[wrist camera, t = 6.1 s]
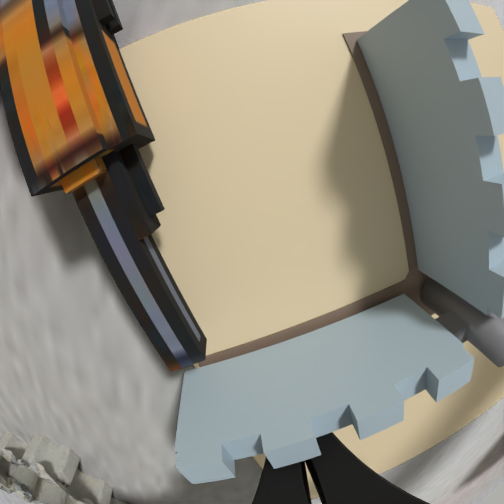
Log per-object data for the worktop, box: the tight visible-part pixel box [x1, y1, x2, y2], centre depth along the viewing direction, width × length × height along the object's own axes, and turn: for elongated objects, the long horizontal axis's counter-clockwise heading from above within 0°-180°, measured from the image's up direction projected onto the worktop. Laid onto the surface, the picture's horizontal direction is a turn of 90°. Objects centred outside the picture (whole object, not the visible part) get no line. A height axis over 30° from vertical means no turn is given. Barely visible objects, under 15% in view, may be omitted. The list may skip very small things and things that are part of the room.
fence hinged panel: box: [174, 278, 504, 484], centre depth 8 cm, size 10×1×4 cm, turn 108°
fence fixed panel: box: [357, 0, 504, 319], centre depth 6 cm, size 8×1×4 cm, turn 19°
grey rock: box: [0, 432, 128, 504], centre depth 11 cm, size 11×8×4 cm
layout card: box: [119, 0, 504, 499], centre depth 10 cm, size 18×24×1 cm
